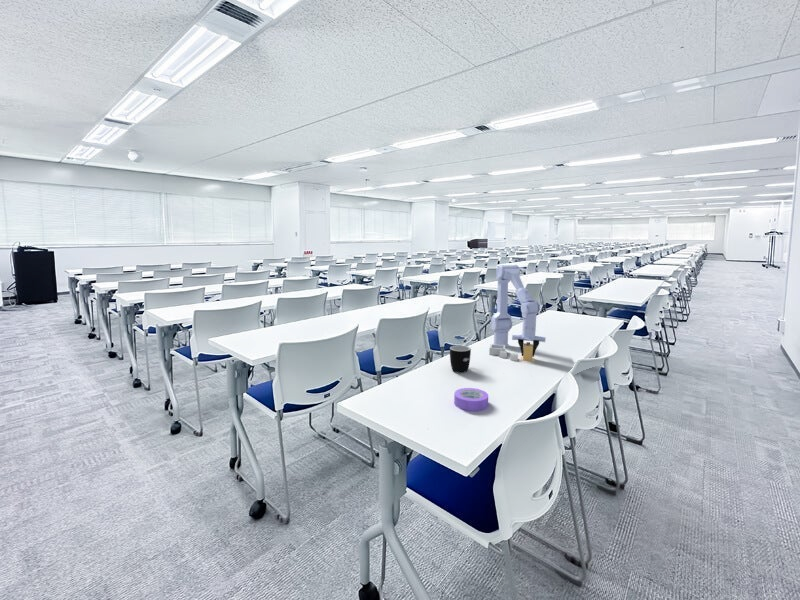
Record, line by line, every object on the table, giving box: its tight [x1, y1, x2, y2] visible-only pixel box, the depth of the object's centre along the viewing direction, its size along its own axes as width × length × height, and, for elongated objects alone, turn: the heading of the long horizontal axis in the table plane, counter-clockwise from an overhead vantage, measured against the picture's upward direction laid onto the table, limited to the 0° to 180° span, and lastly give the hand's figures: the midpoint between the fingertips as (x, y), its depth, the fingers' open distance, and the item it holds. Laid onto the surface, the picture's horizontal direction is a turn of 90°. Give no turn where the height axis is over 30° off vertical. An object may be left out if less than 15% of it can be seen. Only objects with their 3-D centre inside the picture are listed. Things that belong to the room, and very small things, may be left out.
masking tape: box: [453, 387, 489, 412], centre depth 133 cm, size 12×12×4 cm
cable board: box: [488, 343, 535, 363], centre depth 181 cm, size 16×22×4 cm
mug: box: [449, 344, 472, 374], centre depth 166 cm, size 12×9×10 cm
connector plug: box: [522, 341, 533, 362], centre depth 176 cm, size 4×4×8 cm
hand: (527, 355), depth 177 cm, fingers closed on connector plug, 4 cm apart
